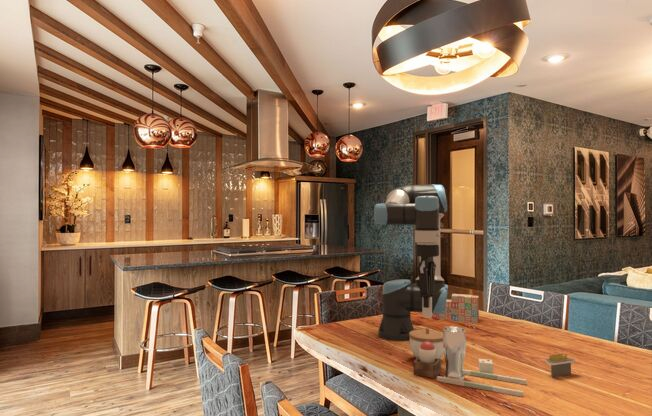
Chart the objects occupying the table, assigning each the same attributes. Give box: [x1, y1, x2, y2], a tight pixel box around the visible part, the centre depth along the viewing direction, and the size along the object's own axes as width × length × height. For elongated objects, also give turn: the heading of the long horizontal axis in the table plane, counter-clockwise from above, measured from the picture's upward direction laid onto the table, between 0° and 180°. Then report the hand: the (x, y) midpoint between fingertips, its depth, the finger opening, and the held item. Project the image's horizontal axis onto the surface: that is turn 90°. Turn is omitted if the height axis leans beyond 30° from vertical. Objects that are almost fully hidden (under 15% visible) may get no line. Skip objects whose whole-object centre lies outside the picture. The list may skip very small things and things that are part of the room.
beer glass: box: [442, 326, 467, 381], centre depth 135 cm, size 7×7×15 cm
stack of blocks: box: [432, 293, 480, 324], centre depth 212 cm, size 21×6×12 cm, turn 67°
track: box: [436, 365, 527, 397], centre depth 131 cm, size 24×11×1 cm, turn 61°
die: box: [478, 358, 494, 374], centre depth 139 cm, size 4×4×4 cm
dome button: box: [419, 341, 435, 364], centre depth 139 cm, size 5×5×7 cm
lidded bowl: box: [409, 327, 444, 359], centre depth 152 cm, size 13×13×11 cm
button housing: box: [412, 357, 442, 379], centre depth 139 cm, size 7×7×4 cm
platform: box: [545, 353, 576, 378], centre depth 138 cm, size 12×18×7 cm, turn 110°
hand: (427, 317), depth 139 cm, fingers closed
